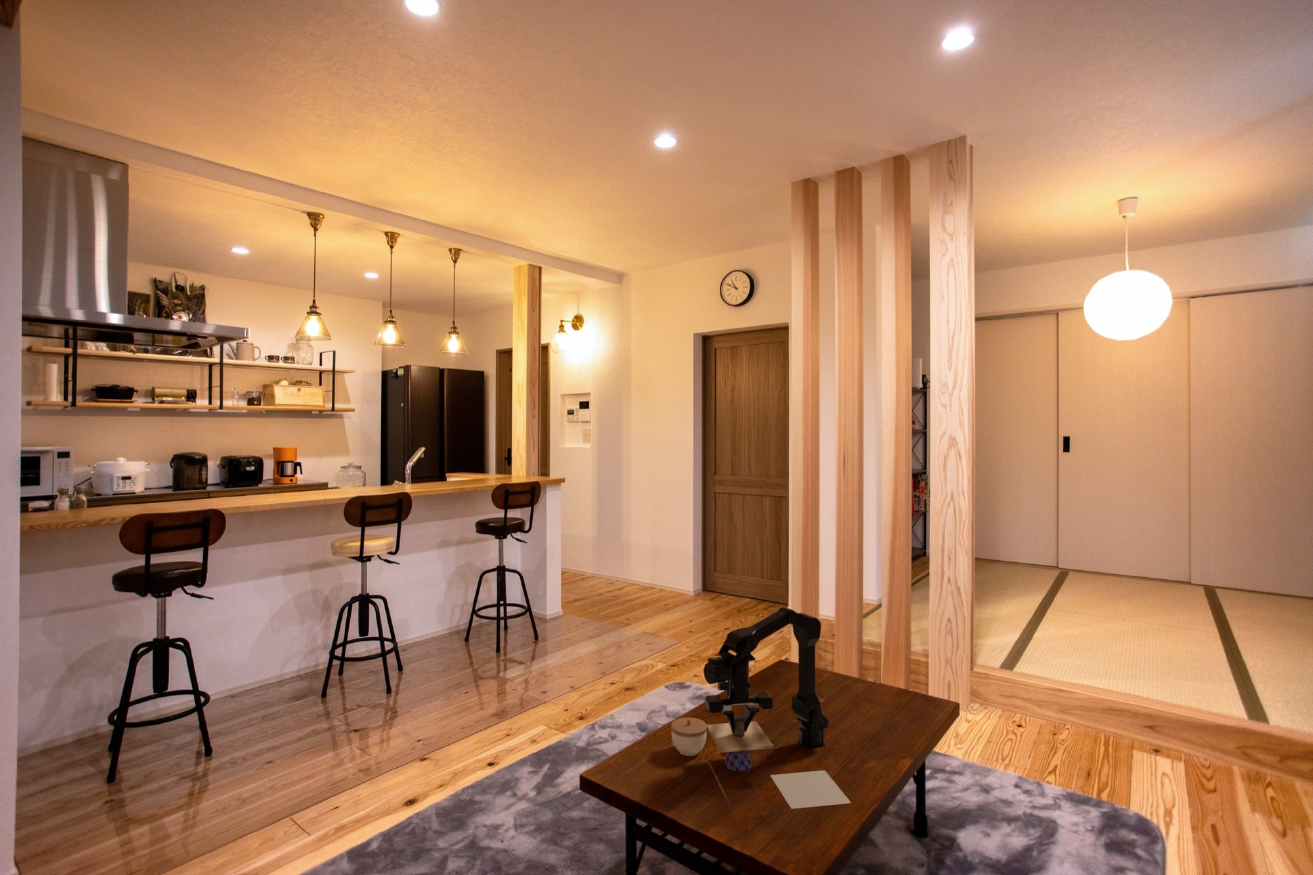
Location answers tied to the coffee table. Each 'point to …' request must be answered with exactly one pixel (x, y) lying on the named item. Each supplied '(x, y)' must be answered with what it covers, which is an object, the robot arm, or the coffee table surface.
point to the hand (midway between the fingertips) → (738, 731)
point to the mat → (809, 789)
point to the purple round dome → (738, 761)
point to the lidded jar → (688, 735)
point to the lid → (739, 736)
